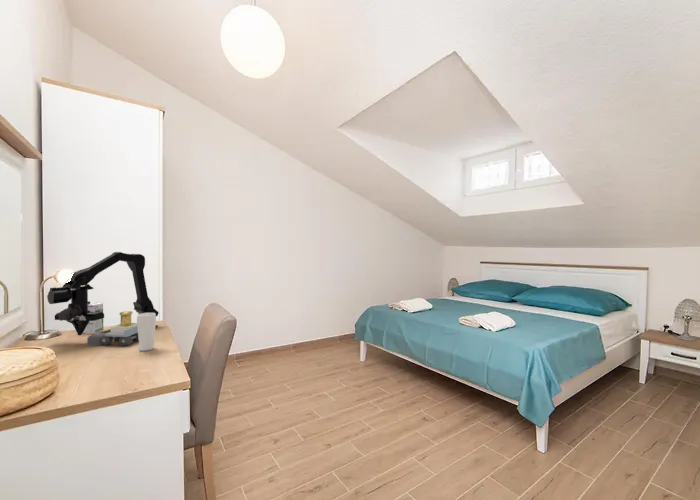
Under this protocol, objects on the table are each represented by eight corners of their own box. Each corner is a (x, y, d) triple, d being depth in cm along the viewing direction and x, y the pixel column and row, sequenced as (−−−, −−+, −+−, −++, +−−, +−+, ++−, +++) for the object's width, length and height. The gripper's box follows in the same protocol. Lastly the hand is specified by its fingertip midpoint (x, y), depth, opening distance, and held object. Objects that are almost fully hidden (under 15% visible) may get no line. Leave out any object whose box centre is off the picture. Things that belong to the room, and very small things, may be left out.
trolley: (116, 338, 151) (116, 323, 151) (144, 339, 150) (144, 324, 150) (98, 345, 141) (98, 329, 141) (127, 346, 140) (127, 330, 140)
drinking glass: (133, 350, 136) (133, 314, 136) (149, 345, 142) (149, 311, 141) (142, 352, 133) (142, 316, 132) (159, 348, 139) (159, 313, 138)
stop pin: (124, 327, 149) (124, 311, 149) (134, 328, 149) (134, 311, 149) (116, 330, 144) (116, 313, 144) (127, 331, 144) (127, 313, 144)
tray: (124, 328, 151) (124, 322, 151) (140, 328, 150) (140, 322, 150) (110, 332, 143) (110, 326, 143) (127, 333, 142) (127, 327, 142)
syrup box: (94, 333, 159) (94, 304, 159) (82, 333, 159) (82, 304, 159) (103, 330, 165) (103, 302, 165) (92, 330, 165) (92, 302, 165)
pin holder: (108, 333, 161) (108, 329, 160) (124, 333, 160) (124, 329, 160) (95, 337, 153) (95, 333, 152) (111, 338, 152) (111, 334, 152)
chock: (93, 342, 147) (93, 333, 147) (106, 341, 148) (106, 333, 148) (87, 346, 141) (87, 337, 141) (101, 345, 142) (100, 336, 142)
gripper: (41, 303, 137) (42, 339, 137) (83, 304, 136) (83, 341, 136) (66, 298, 148) (66, 332, 148) (105, 299, 147) (105, 333, 147)
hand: (80, 335), depth 145 cm, fingers closed
